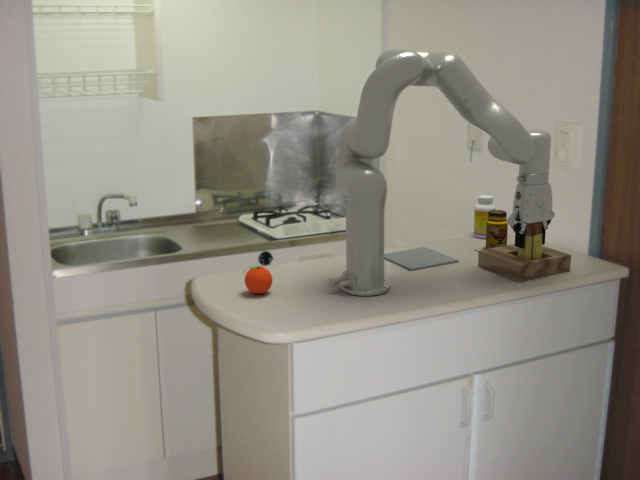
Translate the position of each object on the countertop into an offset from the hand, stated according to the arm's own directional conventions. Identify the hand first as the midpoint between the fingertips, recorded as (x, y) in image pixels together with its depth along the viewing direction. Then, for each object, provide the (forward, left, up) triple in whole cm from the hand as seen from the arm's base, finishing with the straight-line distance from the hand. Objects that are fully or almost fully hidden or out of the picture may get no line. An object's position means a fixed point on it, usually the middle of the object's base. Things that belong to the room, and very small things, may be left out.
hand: (529, 244), depth 199 cm
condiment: (+5, +20, -7) cm, 22 cm away
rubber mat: (-19, +24, -7) cm, 31 cm away
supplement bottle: (+13, +34, -7) cm, 37 cm away
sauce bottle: (0, 0, -7) cm, 7 cm away
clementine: (-70, +21, -7) cm, 73 cm away
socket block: (0, +2, -7) cm, 7 cm away
